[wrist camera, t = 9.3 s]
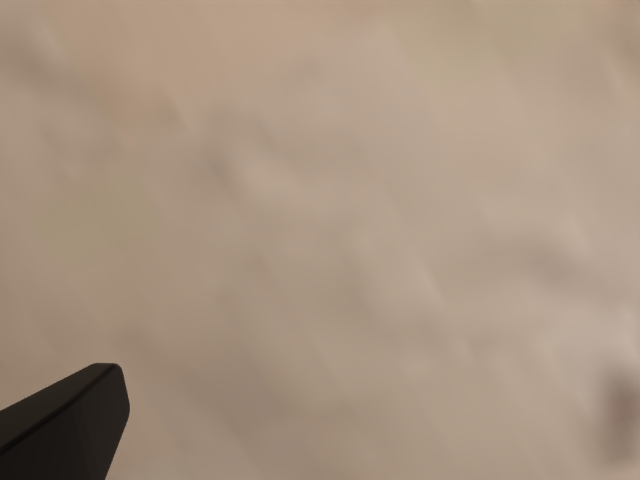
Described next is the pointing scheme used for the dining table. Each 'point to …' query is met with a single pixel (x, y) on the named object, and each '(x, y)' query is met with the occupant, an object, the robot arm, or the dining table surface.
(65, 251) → the dining table surface
